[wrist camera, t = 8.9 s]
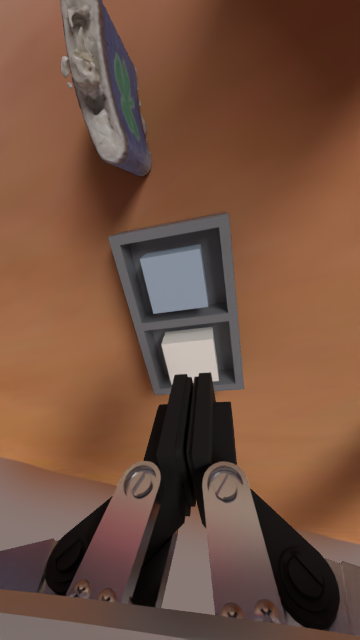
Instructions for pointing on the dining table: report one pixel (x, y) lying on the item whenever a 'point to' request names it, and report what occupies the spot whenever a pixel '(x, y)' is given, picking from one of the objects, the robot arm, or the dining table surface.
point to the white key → (190, 353)
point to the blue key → (175, 279)
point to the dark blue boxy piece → (105, 85)
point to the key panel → (217, 314)
